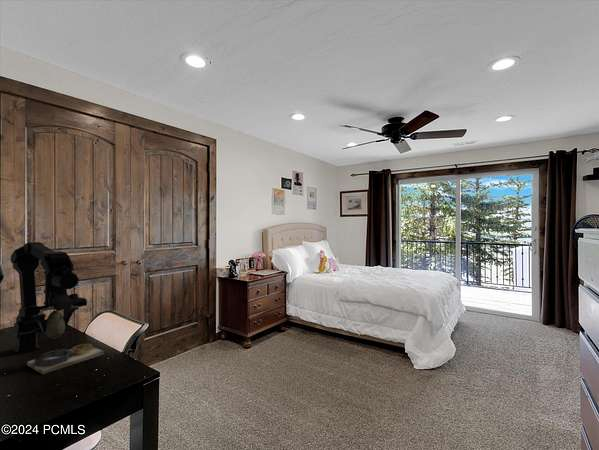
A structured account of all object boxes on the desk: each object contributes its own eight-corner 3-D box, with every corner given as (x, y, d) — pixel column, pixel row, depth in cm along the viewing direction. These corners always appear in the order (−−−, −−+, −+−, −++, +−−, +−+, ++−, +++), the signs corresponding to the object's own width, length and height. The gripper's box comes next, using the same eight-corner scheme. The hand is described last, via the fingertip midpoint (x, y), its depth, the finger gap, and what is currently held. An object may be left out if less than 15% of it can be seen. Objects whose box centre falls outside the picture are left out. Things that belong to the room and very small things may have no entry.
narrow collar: (69, 354, 115) (69, 347, 115) (87, 348, 120) (87, 342, 120) (77, 357, 112) (77, 350, 112) (94, 352, 117) (95, 345, 117)
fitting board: (27, 365, 107) (27, 361, 107) (87, 347, 123) (87, 344, 123) (42, 374, 100) (42, 370, 100) (103, 354, 116) (103, 351, 116)
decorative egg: (43, 342, 105) (43, 313, 106) (44, 338, 110) (45, 310, 110) (64, 338, 109) (65, 311, 109) (65, 334, 114) (65, 307, 114)
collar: (31, 363, 106) (31, 356, 106) (63, 354, 115) (63, 347, 115) (42, 370, 101) (43, 363, 101) (75, 360, 110) (75, 353, 110)
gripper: (31, 293, 98) (31, 342, 98) (94, 284, 114) (94, 326, 114) (18, 290, 104) (17, 336, 103) (80, 282, 120) (79, 322, 119)
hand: (54, 330), depth 110 cm, fingers closed on decorative egg, 6 cm apart
